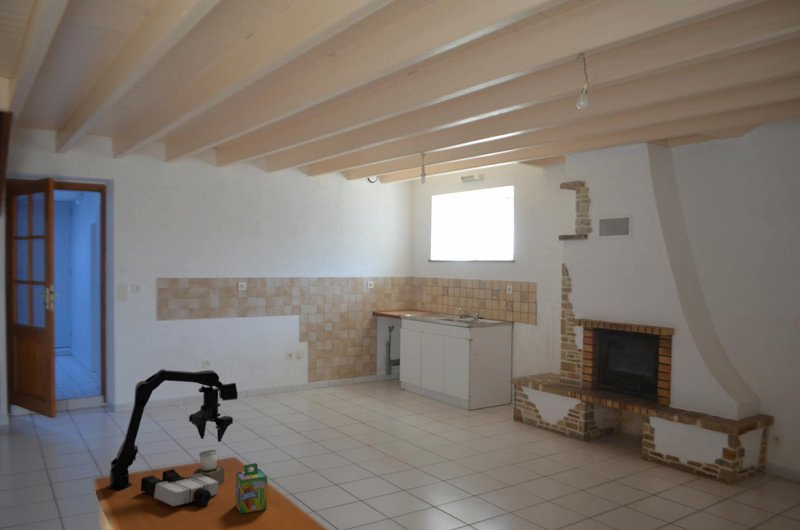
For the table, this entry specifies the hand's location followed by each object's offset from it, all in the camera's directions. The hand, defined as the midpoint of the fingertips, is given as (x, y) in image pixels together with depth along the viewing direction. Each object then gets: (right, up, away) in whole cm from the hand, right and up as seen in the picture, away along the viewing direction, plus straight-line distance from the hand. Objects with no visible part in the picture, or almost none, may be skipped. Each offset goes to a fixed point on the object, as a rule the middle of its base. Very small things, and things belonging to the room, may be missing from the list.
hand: (210, 440), depth 237 cm
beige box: (+4, -13, -13) cm, 19 cm away
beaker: (+4, -7, -13) cm, 15 cm away
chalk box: (+25, -13, -35) cm, 45 cm away
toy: (-3, -13, -25) cm, 29 cm away
